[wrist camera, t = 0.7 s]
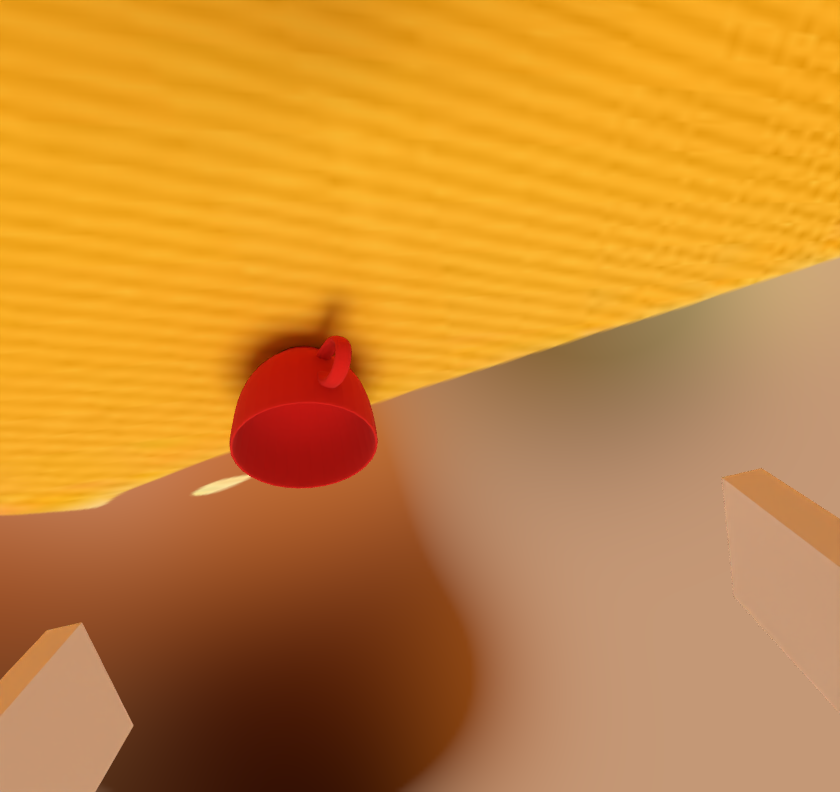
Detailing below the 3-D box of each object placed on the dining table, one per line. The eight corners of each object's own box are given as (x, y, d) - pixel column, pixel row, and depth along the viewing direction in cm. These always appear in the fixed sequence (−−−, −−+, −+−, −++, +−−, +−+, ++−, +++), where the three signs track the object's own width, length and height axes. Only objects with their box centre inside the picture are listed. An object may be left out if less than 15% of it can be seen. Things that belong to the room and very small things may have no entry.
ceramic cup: (404, 309, 51) (421, 387, 44) (342, 419, 62) (348, 495, 55) (266, 270, 45) (262, 352, 39) (224, 398, 56) (215, 480, 50)
